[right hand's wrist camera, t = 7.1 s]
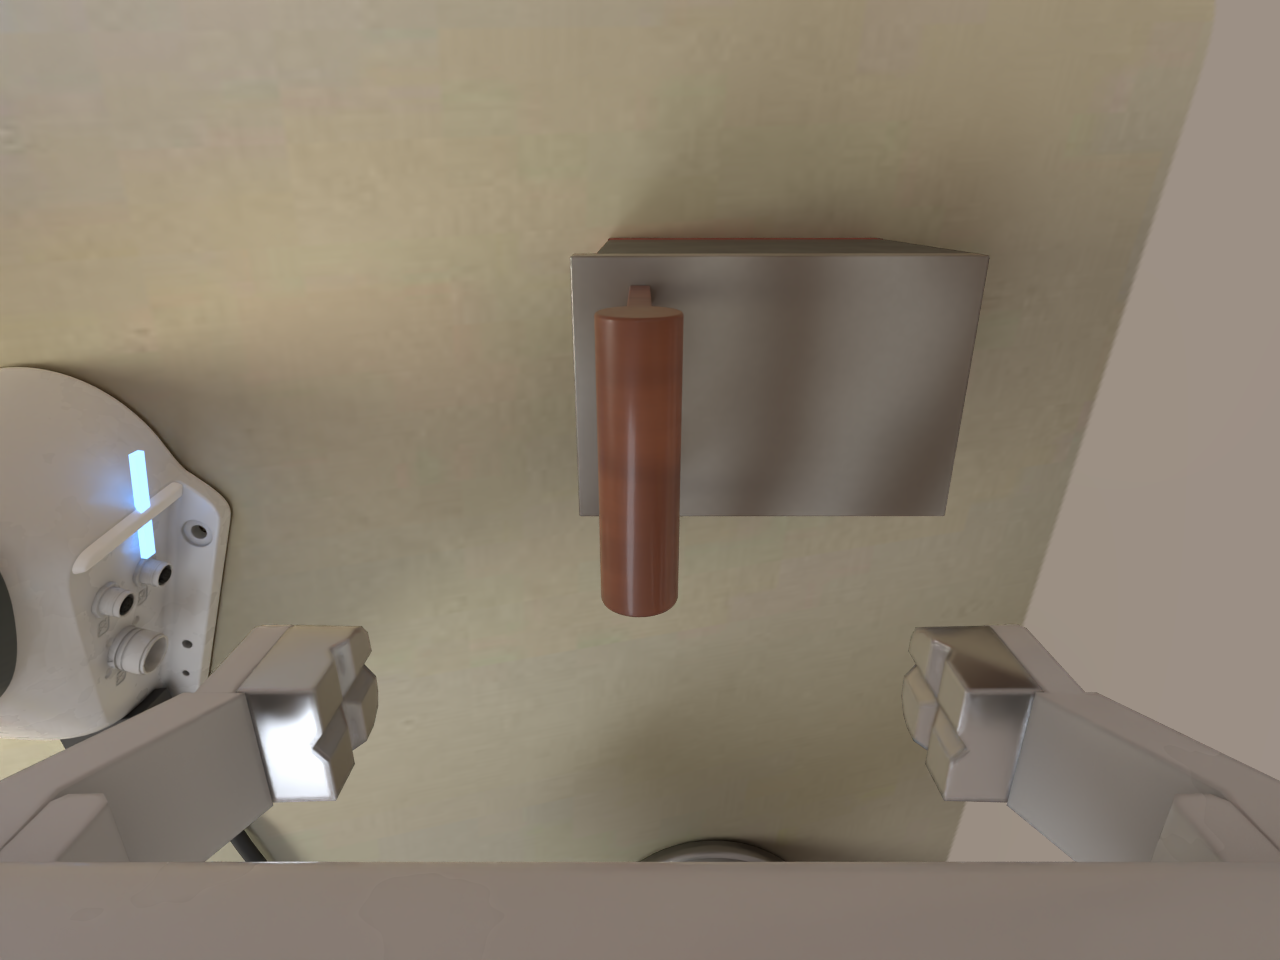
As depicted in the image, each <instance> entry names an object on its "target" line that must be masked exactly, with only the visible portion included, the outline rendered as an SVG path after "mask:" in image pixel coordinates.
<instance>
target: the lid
mask: <svg viewBox="0 0 1280 960" xmlns="http://www.w3.org/2000/svg"><path fill="white" fill-rule="evenodd" d="M988 263H989V256H988V255H983V254H976V253H682V254H573V255H572V256H571V257H570V272H571V299H572V326H573V354H574V381H575V408H576V435H577V463H578V490H579V515H580V516H599V525H600V565H601V598H602V601H603V603H604V604H605V606H606V607H607V608H609V609H610V610H612V611H613V612H615V613H618V614H621V615H625V616H631V617H648V616H654V615H658V614H661V613H663V612H666V611H667V610H669V609H670V608H672V607H673V606H674V604H675V603H676V601H677V598H678V565H679V518H680V516H944V515H945V510H946V504H947V498H948V493H949V487H950V481H951V475H952V470H953V464H954V458H955V452H956V447H957V441H958V435H959V429H960V424H961V418H962V412H963V406H964V401H965V395H966V389H967V383H968V378H969V372H970V366H971V360H972V355H973V349H974V343H975V337H976V332H977V326H978V320H979V314H980V309H981V303H982V297H983V291H984V286H985V280H986V274H987V268H988Z"/></svg>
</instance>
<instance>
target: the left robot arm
mask: <svg viewBox="0 0 1280 960" xmlns="http://www.w3.org/2000/svg"><path fill="white" fill-rule="evenodd" d="M641 862H785V861H783V860H782V859H780V858H779V857H777V856H775V855H773V854H771V853H769V852H767V851H765V850H762V849H760V848H757V847H754V846H750V845H746V844H742V843H737V842H729V841H698V842H690V843H685V844H680V845H677V846H673V847H670V848H667V849H664V850H661V851H659V852H657V853H654V854H652V855H651V856H649V857H647V858H645V859H644V860H642V861H641Z"/></svg>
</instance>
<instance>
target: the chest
mask: <svg viewBox="0 0 1280 960" xmlns="http://www.w3.org/2000/svg"><path fill="white" fill-rule="evenodd" d="M682 253H969V252H963V251H956V250H949V249H943V248H936V247H930V246H923V245H916V244H910V243H903V242H897V241H890V240H883V239H880V238H609V239H608V242H607V243H606V244H605V245H604V246H603V247H602V248H601V249H600V251H599V252H598V253H597V254H682Z"/></svg>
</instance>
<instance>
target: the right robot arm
mask: <svg viewBox="0 0 1280 960" xmlns="http://www.w3.org/2000/svg"><path fill="white" fill-rule="evenodd" d="M230 519H231V511H230V507H229V505H228V503H227V501H226V500H225V499H224V498H223V497H222V496H221V495H220V494H219V493H218V492H217V491H216V490H214V489H213V488H212V487H210V486H209V485H208V484H206V483H205V482H203V481H202V480H200V479H199V478H197V477H196V476H194V475H193V474H191V473H190V472H188V471H187V470H185V469H184V468H183V467H182V466H181V465H180V464H179V463H178V461H177V460H176V459H175V458H174V457H173V455H172V454H171V453H170V452H169V450H168V449H167V448H166V446H165V445H164V444H163V443H162V441H161V440H160V439H159V437H158V436H157V435H156V434H155V433H154V432H153V431H152V429H151V428H150V427H149V426H148V425H147V424H146V423H145V422H144V421H143V420H142V419H140V418H139V417H138V416H137V415H136V414H135V413H134V412H132V411H131V410H130V409H129V408H128V407H126V406H125V405H124V404H122V403H121V402H119V401H118V400H117V399H115V398H113V397H112V396H110V395H109V394H107V393H105V392H104V391H102V390H100V389H98V388H96V387H94V386H92V385H90V384H88V383H86V382H84V381H81V380H79V379H76V378H74V377H71V376H68V375H65V374H61V373H58V372H54V371H50V370H45V369H38V368H29V367H5V368H0V738H9V739H21V740H59V739H60V740H61V742H62V744H63V746H64V747H65V750H63V751H61V752H59V753H57V754H55V755H53V756H51V757H48V758H46V759H44V760H42V761H40V762H38V763H36V764H34V765H32V766H30V767H28V768H26V769H23V770H21V771H19V772H17V773H15V774H13V775H11V776H9V777H7V778H5V779H3V780H1V781H0V960H1280V781H1279V780H1277V779H1275V778H1273V777H1271V776H1269V775H1266V774H1264V773H1262V772H1260V771H1258V770H1256V769H1254V768H1252V767H1250V766H1248V765H1246V764H1244V763H1242V762H1239V761H1237V760H1235V759H1233V758H1231V757H1229V756H1227V755H1225V754H1223V753H1221V752H1219V751H1217V750H1215V749H1213V748H1210V747H1208V746H1206V745H1204V744H1202V743H1200V742H1198V741H1196V740H1194V739H1192V738H1190V737H1188V736H1186V735H1183V734H1181V733H1179V732H1177V731H1175V730H1173V729H1171V728H1169V727H1167V726H1165V725H1163V724H1161V723H1159V722H1156V721H1154V720H1152V719H1150V718H1148V717H1146V716H1144V715H1142V714H1140V713H1138V712H1136V711H1134V710H1132V709H1130V708H1128V707H1125V706H1123V705H1121V704H1119V703H1117V702H1115V701H1113V700H1111V699H1109V698H1107V697H1105V696H1103V695H1101V694H1099V693H1085V692H1084V690H1083V689H1082V688H1081V687H1080V686H1079V685H1078V684H1077V683H1076V682H1075V681H1074V679H1073V678H1072V677H1071V676H1070V675H1069V674H1068V673H1067V672H1066V671H1065V670H1064V669H1063V668H1062V666H1061V665H1060V664H1059V663H1058V662H1057V661H1056V660H1055V659H1054V658H1053V657H1052V656H1051V654H1050V653H1049V652H1048V651H1047V650H1046V649H1045V648H1044V647H1043V646H1042V645H1041V644H1040V642H1039V641H1038V640H1037V639H1036V638H1035V637H1034V636H1033V635H1032V634H1031V633H1030V632H1029V630H1028V629H1027V628H1025V627H1023V626H1020V625H1018V624H1010V625H984V626H953V627H915V629H914V631H913V633H912V635H911V639H910V644H909V650H908V651H909V653H910V655H911V657H912V658H913V660H914V662H915V663H916V665H915V666H914V667H913V668H912V669H911V670H910V671H909V672H908V673H907V674H906V675H905V676H904V680H903V688H902V706H903V715H904V719H905V722H906V726H907V729H908V731H909V733H910V735H911V737H912V739H913V741H914V742H916V743H917V744H919V745H920V746H922V747H923V748H925V749H926V750H928V751H927V757H926V762H925V765H926V766H927V768H928V770H929V772H930V774H931V776H932V778H933V780H934V782H935V784H936V786H937V788H938V790H939V792H940V793H941V795H942V797H943V799H944V801H974V802H1007V806H1008V807H1010V808H1011V809H1012V810H1013V811H1014V812H1016V813H1017V814H1018V815H1019V816H1020V817H1022V818H1023V819H1024V820H1025V821H1027V822H1028V823H1029V824H1030V825H1031V826H1033V827H1034V828H1035V829H1036V830H1038V831H1039V832H1040V833H1041V834H1042V835H1044V836H1045V837H1046V838H1047V839H1048V840H1050V841H1051V842H1052V843H1053V844H1055V845H1056V846H1057V847H1058V848H1059V849H1061V850H1062V851H1063V852H1064V853H1066V854H1067V855H1068V856H1069V857H1070V858H1072V859H1073V860H1074V861H1075V862H267V861H266V859H265V858H264V857H263V855H262V854H261V853H260V851H259V850H258V849H257V848H256V846H255V845H254V844H253V842H252V841H251V839H250V838H249V837H248V835H247V834H246V832H245V831H244V829H245V828H246V827H248V826H249V825H250V824H251V823H253V822H254V821H255V820H256V819H257V818H259V817H260V816H261V815H262V814H264V813H265V812H266V811H267V810H268V809H270V808H271V807H272V806H273V803H272V802H305V801H336V799H337V797H338V796H339V794H340V792H341V790H342V788H343V786H344V784H345V782H346V780H347V778H348V776H349V774H350V772H351V770H352V768H353V766H354V765H355V762H354V757H353V751H352V750H354V749H355V748H357V747H358V746H360V745H361V744H363V743H364V742H366V741H367V739H368V737H369V735H370V733H371V730H372V728H373V726H374V722H375V718H376V713H377V709H378V686H377V680H376V676H375V675H374V674H373V673H372V672H371V671H370V670H369V669H368V668H367V667H366V666H365V665H364V663H365V662H366V660H367V658H368V657H369V655H370V653H371V651H372V650H371V645H370V640H369V636H368V632H367V631H366V630H365V629H364V628H363V627H362V626H327V625H295V626H294V625H261V626H257V627H254V628H253V629H252V631H251V632H250V633H249V634H248V635H247V636H246V637H245V638H244V639H243V640H242V641H241V643H240V644H239V645H238V646H237V647H236V648H235V649H234V650H233V651H232V652H231V653H230V654H229V656H228V657H227V658H226V659H225V660H224V661H223V662H222V663H221V664H220V665H219V666H218V668H217V669H216V670H215V671H214V672H213V673H212V674H211V675H210V676H209V677H208V674H209V667H210V660H211V653H212V646H213V639H214V632H215V625H216V618H217V611H218V604H219V597H220V590H221V583H222V576H223V568H224V561H225V554H226V547H227V540H228V533H229V526H230ZM199 525H200V526H202V527H204V528H205V530H206V532H207V533H204V532H203V531H201V530H200V528H199ZM229 841H231V843H232V844H233V846H234V847H235V848H236V850H237V851H238V852H239V854H240V855H241V856H242V858H243V859H244V860H245V861H246V862H205V861H206V860H207V859H209V858H210V857H211V856H212V855H214V854H215V853H216V852H217V851H218V850H220V849H221V848H222V847H223V846H225V845H226V844H227V843H228V842H229Z"/></svg>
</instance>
